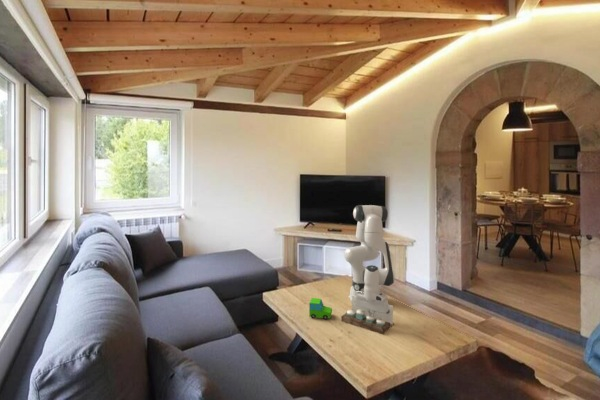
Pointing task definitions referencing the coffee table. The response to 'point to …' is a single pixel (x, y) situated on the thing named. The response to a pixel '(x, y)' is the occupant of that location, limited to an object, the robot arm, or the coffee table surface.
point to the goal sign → (387, 317)
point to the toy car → (319, 309)
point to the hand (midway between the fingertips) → (371, 316)
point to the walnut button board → (365, 324)
